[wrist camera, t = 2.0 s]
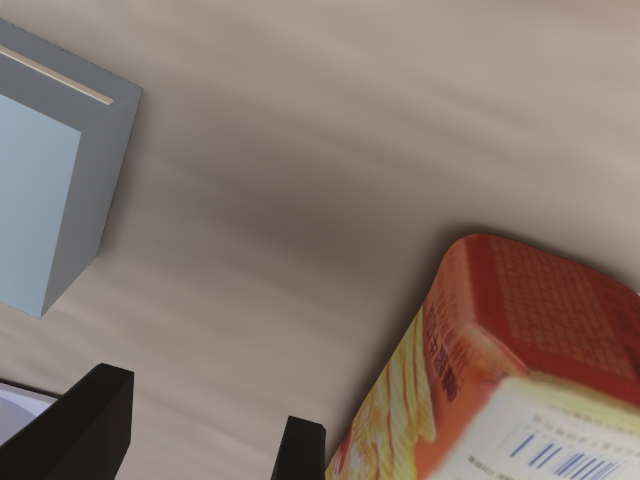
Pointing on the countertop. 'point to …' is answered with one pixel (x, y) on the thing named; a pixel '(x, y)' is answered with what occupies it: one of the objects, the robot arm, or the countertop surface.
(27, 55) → the striped grey-blue box
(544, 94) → the countertop surface
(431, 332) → the snack package
